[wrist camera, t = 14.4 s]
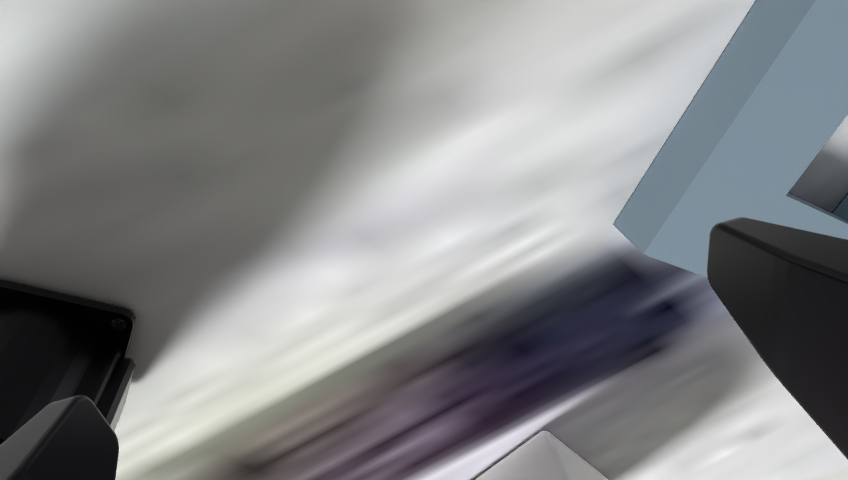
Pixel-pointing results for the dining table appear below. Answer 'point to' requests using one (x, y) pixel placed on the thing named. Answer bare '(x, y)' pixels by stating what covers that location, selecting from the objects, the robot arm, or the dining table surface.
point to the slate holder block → (749, 135)
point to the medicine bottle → (542, 462)
